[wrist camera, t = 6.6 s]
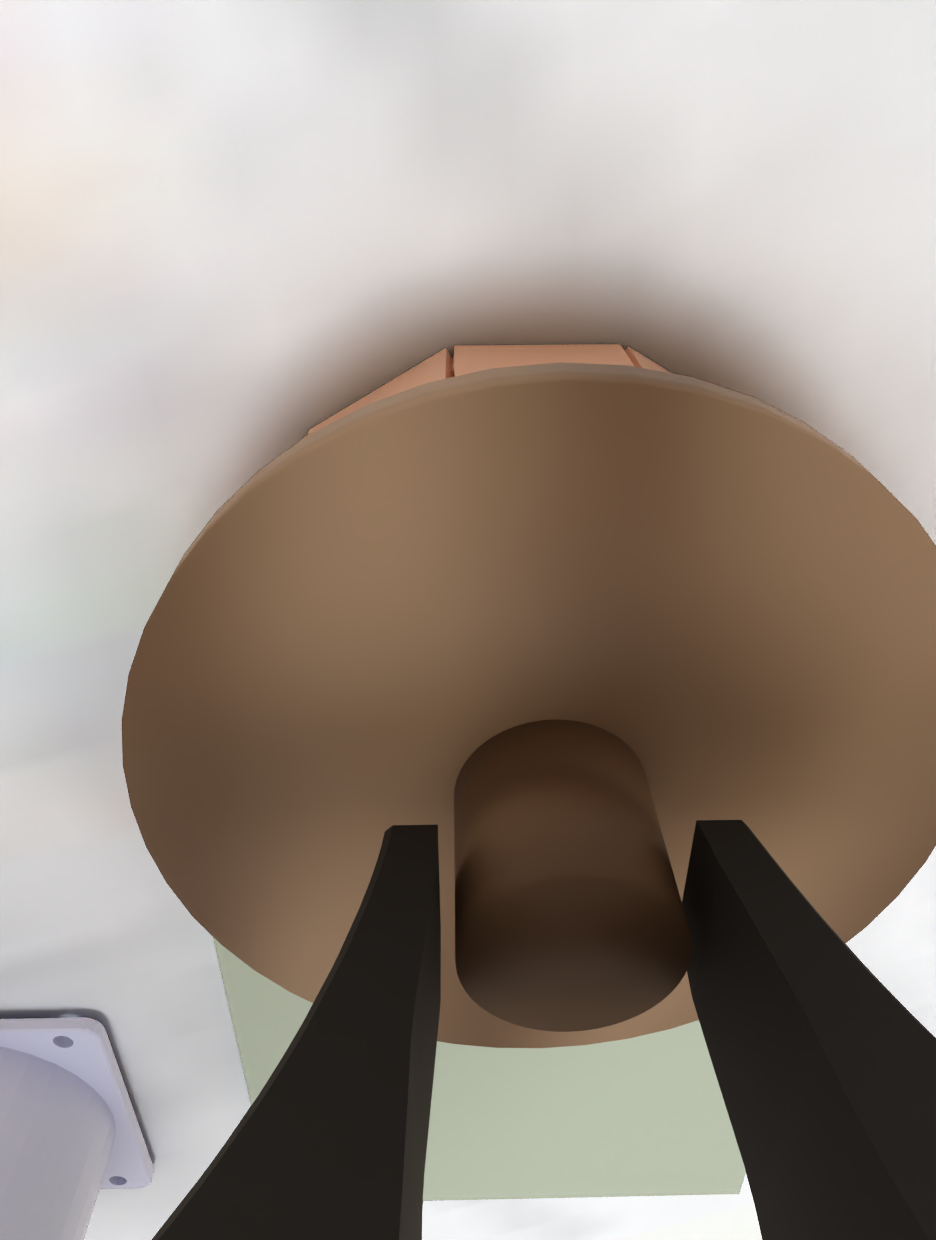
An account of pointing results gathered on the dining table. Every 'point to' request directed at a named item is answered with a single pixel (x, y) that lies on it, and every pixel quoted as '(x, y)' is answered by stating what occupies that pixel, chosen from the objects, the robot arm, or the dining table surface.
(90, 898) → the dining table surface
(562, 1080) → the rubber mat
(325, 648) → the walnut lid
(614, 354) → the terracotta bowl
